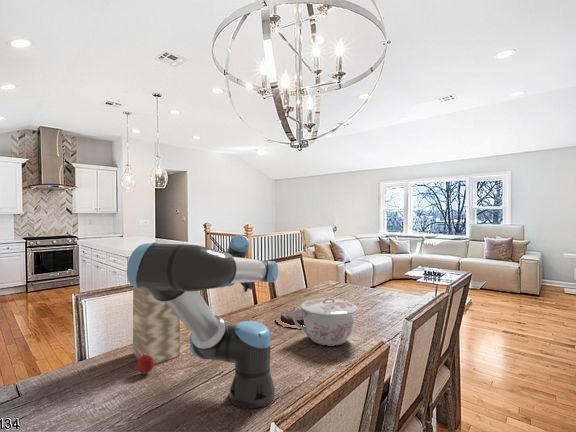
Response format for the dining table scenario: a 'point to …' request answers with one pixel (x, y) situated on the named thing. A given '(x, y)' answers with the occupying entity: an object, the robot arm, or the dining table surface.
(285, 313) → the chocolate cake
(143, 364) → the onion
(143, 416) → the dining table surface
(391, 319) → the dining table surface
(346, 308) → the chamber pot
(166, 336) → the shelf stand
